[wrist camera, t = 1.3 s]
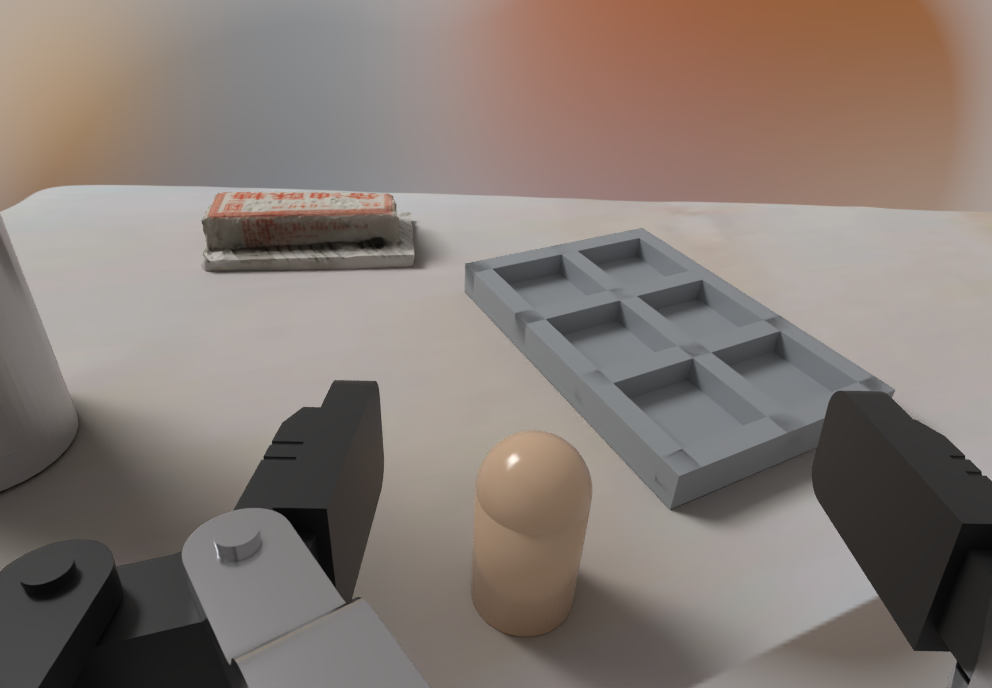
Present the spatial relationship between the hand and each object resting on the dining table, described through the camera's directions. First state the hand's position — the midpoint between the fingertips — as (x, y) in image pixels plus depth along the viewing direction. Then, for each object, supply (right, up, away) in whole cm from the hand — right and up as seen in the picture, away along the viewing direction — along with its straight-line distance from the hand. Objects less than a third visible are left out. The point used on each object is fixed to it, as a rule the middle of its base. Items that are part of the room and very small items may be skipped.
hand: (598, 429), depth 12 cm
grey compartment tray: (+10, +1, +39) cm, 40 cm away
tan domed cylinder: (-1, -11, +21) cm, 24 cm away
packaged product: (-18, +10, +51) cm, 55 cm away
